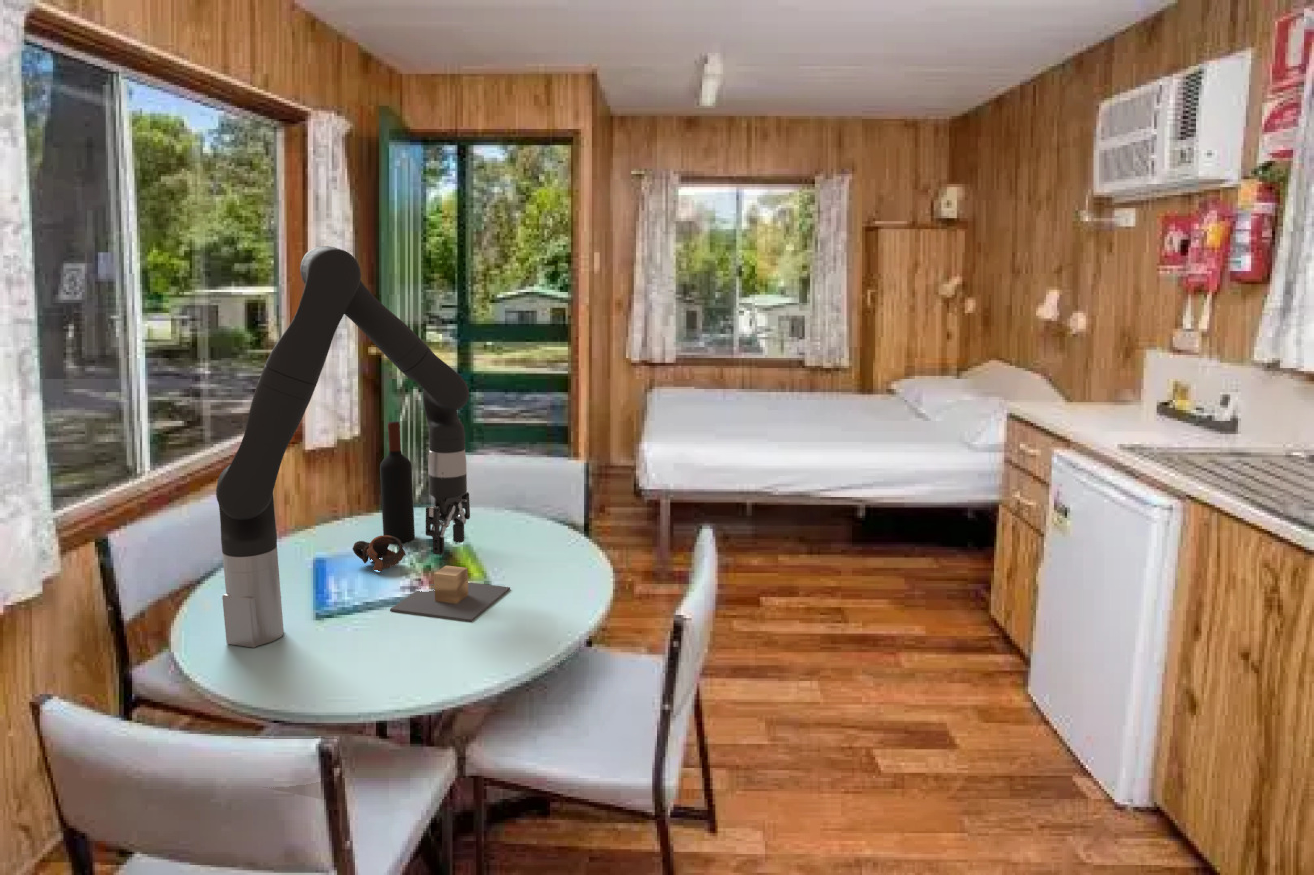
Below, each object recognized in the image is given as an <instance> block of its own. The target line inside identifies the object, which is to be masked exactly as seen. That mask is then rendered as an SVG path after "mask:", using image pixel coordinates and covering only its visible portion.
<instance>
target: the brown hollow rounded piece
mask: <svg viewBox="0 0 1314 875" xmlns="http://www.w3.org/2000/svg"><path fill="white" fill-rule="evenodd" d="M393 542H395V543H397V544H396V545H398V547H399V548H398V551H397V552H396V551H393V550H391V549H389V546H390V544H391V545H393V544H392V543H393ZM352 551H353V553H354V554H355V555H356V556H357V557H358V558H359V559H361V561H362V562H363V564H367V563H368V562H369V561H370V560H371V559H372V560H373V562H374V566H373V569H372V570H373V571H374V570H378V571H381V572H382V571H383V570H386V569H388V568H392V567H394V566H396V565H399V563H400V562H402V561H403V558H404V556H407V553H406V551H405V549H404V546H403V543H402V542H401V541H400V540H399V539H398V538H396V537H394V536H389V535H378V536H376V537H374V538H373V539H372V540H371V541H370V542H368V541H364V540H358V541H356V542H355V543H354V544H353V547H352ZM379 558H380V559H379Z"/></svg>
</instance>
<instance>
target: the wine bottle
mask: <svg viewBox="0 0 1314 875" xmlns="http://www.w3.org/2000/svg"><path fill="white" fill-rule="evenodd" d="M400 429H401V424H400V421H399V420H398V421H397V420H393V421H387V431H388V435H387V436H388V455H387V456H386V457H384V458H383V459H382V461H380V464H379V473H380V475H379V479H380V496H381V515H382V518H381V519H382V532H383V533H382V534H383V535H389V536H394V537H396V538H398V539H399V540H400V541H401V542H402V544H407V543H406V542H408V543H410V542H413V541H414V540H415V537H416V536H415V535H416V534H415V531H416V530H415V514H414V512H415V509H414V491H413V490H414V489H413V488H414V486H413V470H412V469H413V467H412V462H411V461H410V460H409V458H408V457H407V456H405V455H404V454H403V453H402V448H401V447H402V446H401V430H400ZM383 535H382V536H383ZM391 545H398V544H397V543H395V542H393V543H392V544H391Z"/></svg>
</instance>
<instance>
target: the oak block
mask: <svg viewBox="0 0 1314 875" xmlns="http://www.w3.org/2000/svg"><path fill="white" fill-rule="evenodd" d="M433 579H434V590H435V601H439V602H447V603H454V604H457V603H459V602H460V601H461V600H462V599H464V598H465V597H466V596H468V582H469V581H468V580H469V577H468V567H462V566H453V565H444V566H443V567H441V568H440V569H439V570H437V571H435V572H433Z"/></svg>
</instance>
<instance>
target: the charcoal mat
mask: <svg viewBox="0 0 1314 875" xmlns="http://www.w3.org/2000/svg"><path fill="white" fill-rule="evenodd" d="M430 585H434V584H430ZM421 588H422V587H420V588H419V589H421ZM431 589H434V588H431ZM510 590H511V587H509V586H503V585H502V586H501V585H493V584H485V583H478V582H477V583H476V582H470V583H468V596H466V597H465V598H464V599H462V600H461V601H460V602H459V603H457V604H454V603H447V602H439V601H435V591H434V590H433V591H429V592H422V591H421V592H420V591H417V590H416V591H414V592H413V593H411V594H410V595H408V596H407V597H405V598H404V599H403V600H401V601H400V602H398V603H396V604H395V605H393V606H392V607H391V608H389V609H390V612H394V613H403V614H409V615H410V614H411V615H417V616H418V615H419V616H425V617H433V618H440V619H447V620H455V621H461V622H473V621H475V619H476V618H478V617H479V616H480V615H481V614H482V613H484V612H485V611H486V610H488V609H489V608H490V607H491V606H492V605H493V604H495V603H496V602H497V601H498V600H499V599H500V598H502V597H503V596H504V595H505V594H506V593H508V592H509V591H510Z"/></svg>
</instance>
